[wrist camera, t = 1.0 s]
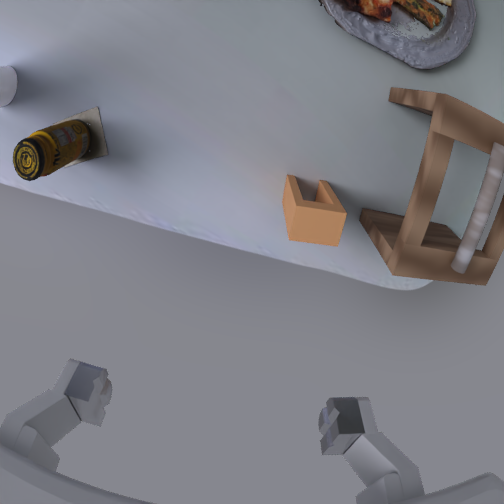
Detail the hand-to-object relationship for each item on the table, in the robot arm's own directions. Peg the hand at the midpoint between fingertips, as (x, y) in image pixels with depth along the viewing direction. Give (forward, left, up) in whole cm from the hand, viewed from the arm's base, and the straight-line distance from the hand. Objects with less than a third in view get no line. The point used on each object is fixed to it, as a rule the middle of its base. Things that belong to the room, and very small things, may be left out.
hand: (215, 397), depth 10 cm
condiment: (-2, -25, -34) cm, 42 cm away
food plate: (-30, +16, -35) cm, 48 cm away
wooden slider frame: (-4, +25, -34) cm, 43 cm away
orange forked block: (+3, +8, -34) cm, 35 cm away
